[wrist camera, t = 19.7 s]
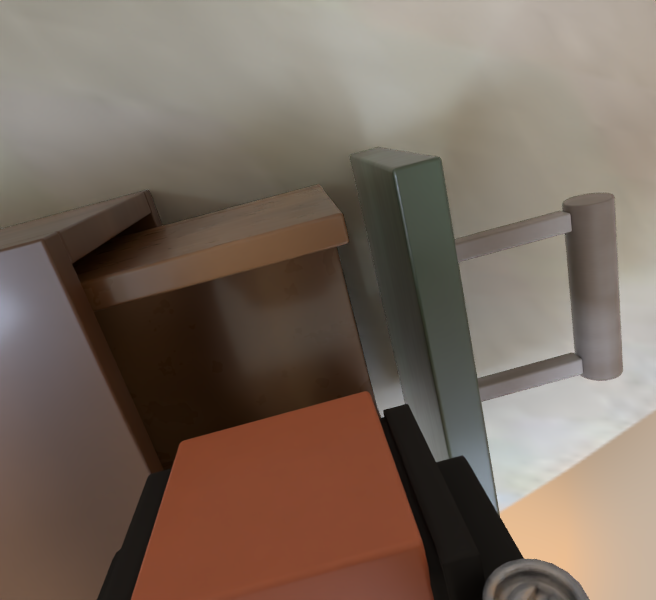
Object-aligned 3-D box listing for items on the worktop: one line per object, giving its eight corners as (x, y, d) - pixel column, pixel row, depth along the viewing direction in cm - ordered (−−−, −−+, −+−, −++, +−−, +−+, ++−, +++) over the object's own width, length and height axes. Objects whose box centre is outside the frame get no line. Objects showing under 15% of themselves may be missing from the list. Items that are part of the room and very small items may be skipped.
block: (178, 439, 10) (119, 625, 6) (368, 388, 10) (422, 541, 6) (238, 581, 11) (218, 804, 8) (405, 535, 11) (469, 735, 8)
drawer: (528, 106, 18) (679, 92, 11) (555, 371, 22) (680, 480, 15) (24, 241, 18) (-130, 308, 11) (140, 484, 22) (77, 646, 15)
